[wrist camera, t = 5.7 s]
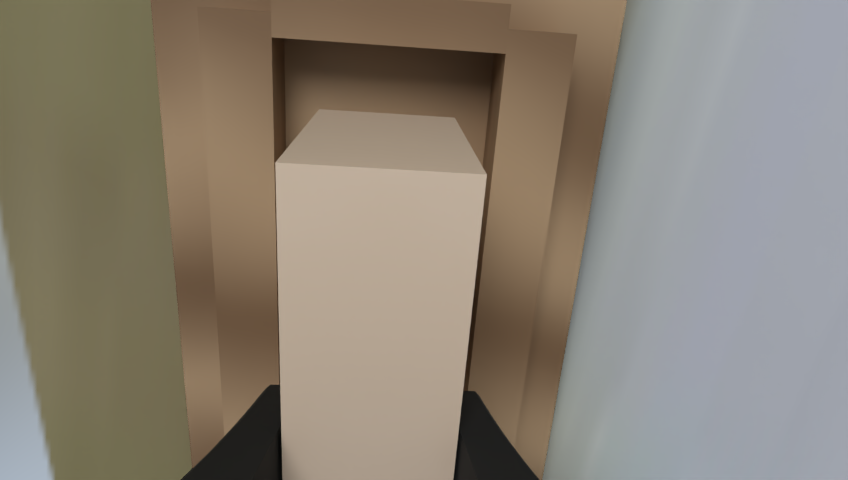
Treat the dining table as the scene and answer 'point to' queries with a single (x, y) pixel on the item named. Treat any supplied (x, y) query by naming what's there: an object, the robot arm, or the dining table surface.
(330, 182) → the clay bar
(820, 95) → the dining table surface
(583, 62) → the rack
